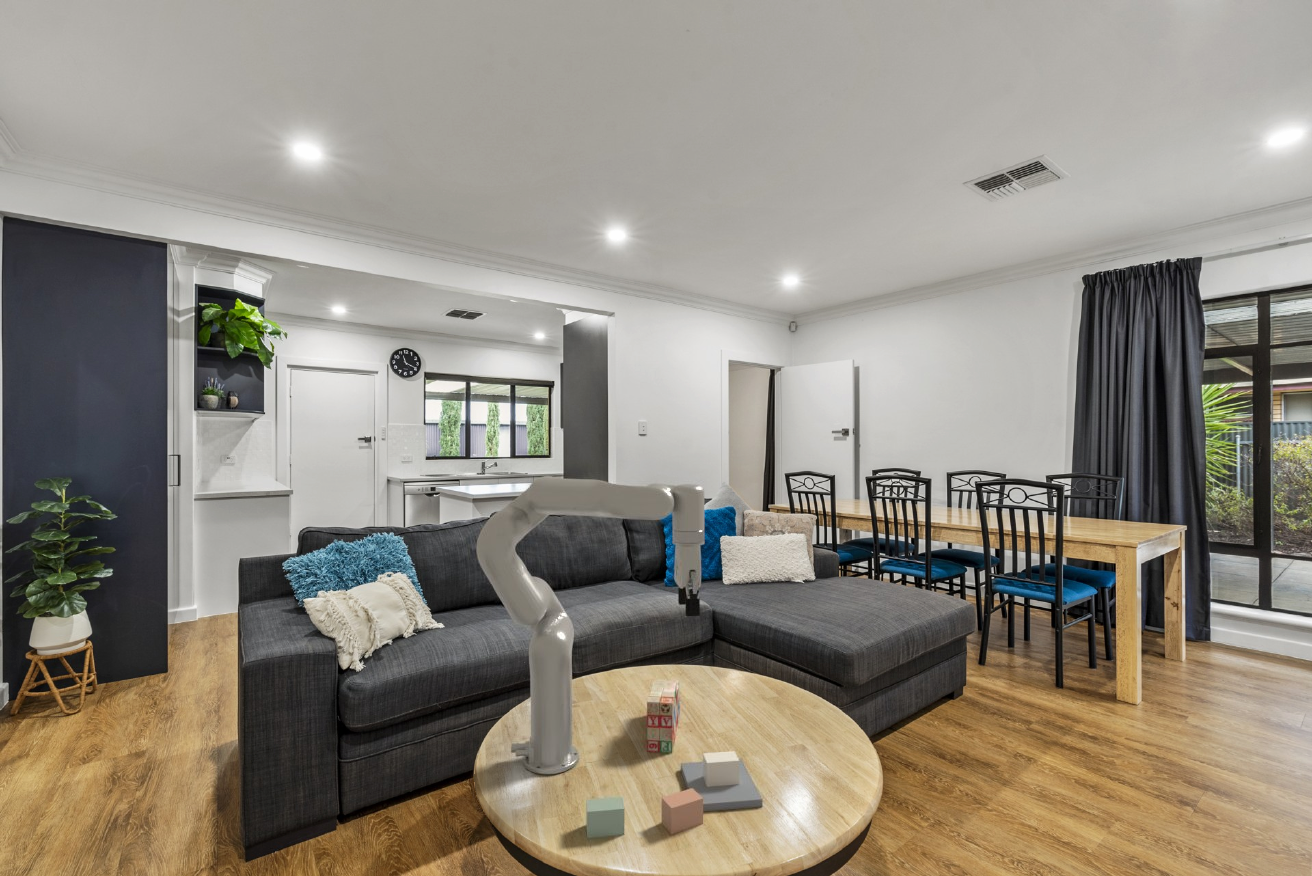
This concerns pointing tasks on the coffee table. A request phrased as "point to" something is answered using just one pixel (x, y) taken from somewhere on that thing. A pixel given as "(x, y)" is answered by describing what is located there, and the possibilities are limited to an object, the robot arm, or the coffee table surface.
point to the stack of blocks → (663, 715)
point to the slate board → (722, 789)
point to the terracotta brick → (682, 810)
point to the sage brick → (605, 817)
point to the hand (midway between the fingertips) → (688, 609)
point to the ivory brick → (720, 768)
